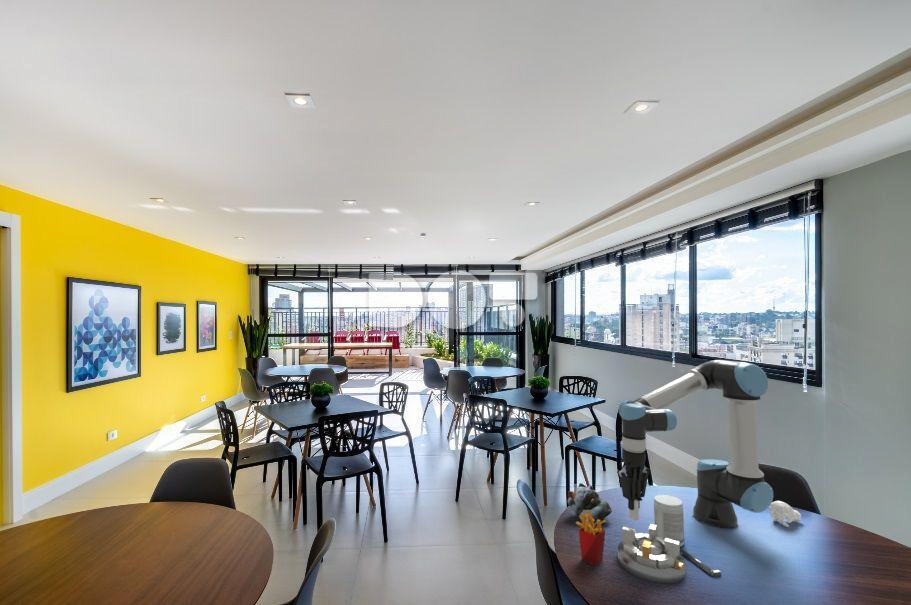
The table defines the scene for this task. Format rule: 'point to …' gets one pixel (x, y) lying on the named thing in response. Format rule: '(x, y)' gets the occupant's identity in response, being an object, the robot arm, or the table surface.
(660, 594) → the table surface
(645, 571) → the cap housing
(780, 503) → the white animal figurine
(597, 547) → the french fries
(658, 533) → the supplement tub
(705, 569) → the pin spanner
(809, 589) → the table surface
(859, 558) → the table surface
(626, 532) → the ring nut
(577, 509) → the lucky cat figurine
